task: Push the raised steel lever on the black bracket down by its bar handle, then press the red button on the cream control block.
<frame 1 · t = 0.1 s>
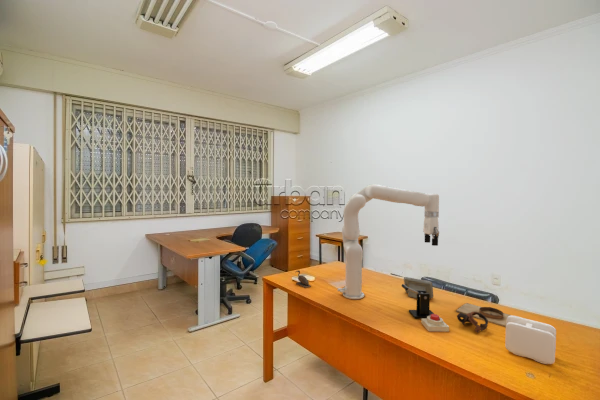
hand: (431, 243, 164), 31 cm above the table, tool pointing down, fingers open, 9 cm apart
control block: (434, 327, 128), on the table
board: (488, 316, 140), on the table
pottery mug: (471, 328, 127), on the table
lever: (414, 291, 139), point 12 cm above the table, hinge at 25.0°
figurine: (301, 284, 186), on the table
button: (434, 317, 128), point 4 cm above the table, slide at 0.1 cm
bracket: (422, 315, 140), on the table
digital clock: (418, 296, 166), on the table
cable organizer: (528, 353, 107), on the table
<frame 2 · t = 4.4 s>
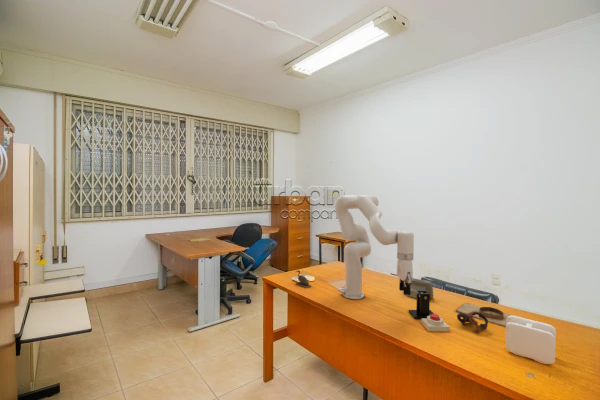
hand: (404, 292, 140), 12 cm above the table, tool pointing down, fingers closed on lever, 5 cm apart
lever: (414, 291, 139), point 12 cm above the table, hinge at 25.0°, touching gripper
everything else where it was.
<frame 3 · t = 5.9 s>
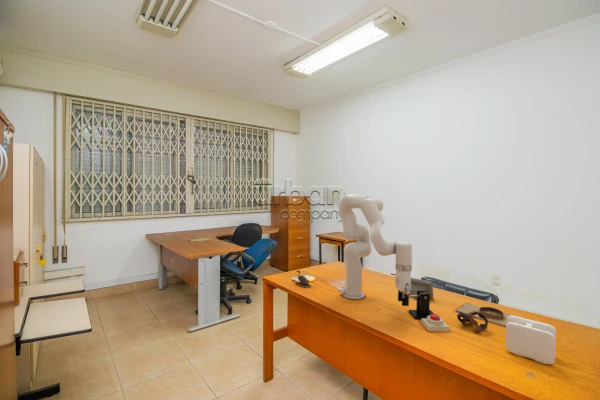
hand: (403, 302, 140), 6 cm above the table, tool pointing down, fingers closed on lever, 5 cm apart
lever: (413, 296, 140), point 10 cm above the table, hinge at -5.1°, touching gripper
everything else where it was.
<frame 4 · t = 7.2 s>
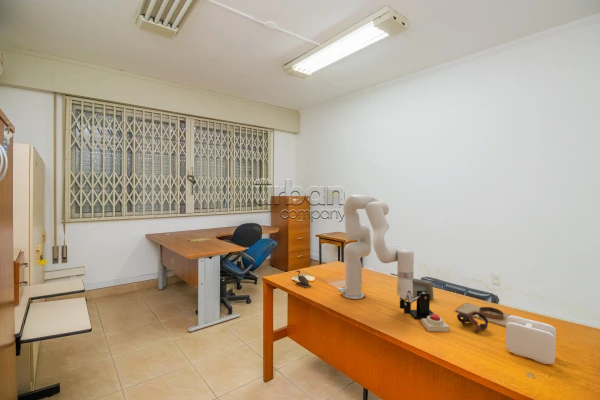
hand: (405, 310, 140), 2 cm above the table, tool pointing down, fingers closed on lever, 5 cm apart
lever: (414, 299, 140), point 8 cm above the table, hinge at -25.9°, touching gripper
everything else where it was.
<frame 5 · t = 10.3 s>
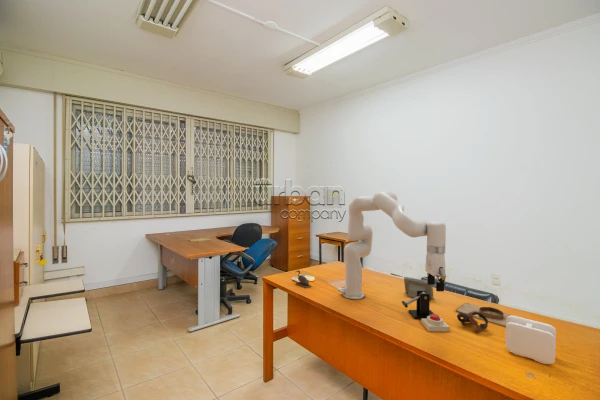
hand: (435, 287, 127), 18 cm above the table, tool pointing down, fingers open, 8 cm apart
lever: (414, 299, 140), point 8 cm above the table, hinge at -26.1°
everything else where it was.
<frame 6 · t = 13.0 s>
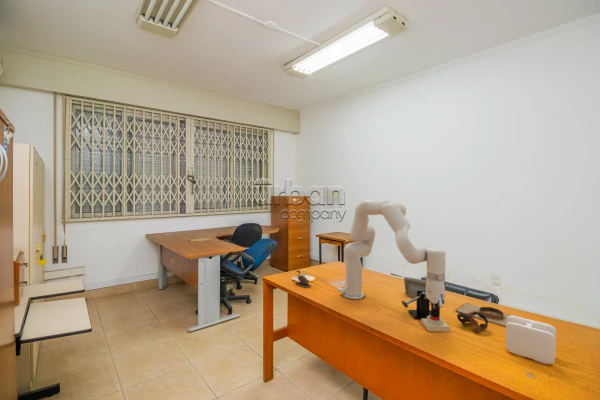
hand: (435, 316, 127), 5 cm above the table, tool pointing down, fingers closed
button: (434, 318, 128), point 4 cm above the table, slide at -0.2 cm, touching gripper
everything else where it was.
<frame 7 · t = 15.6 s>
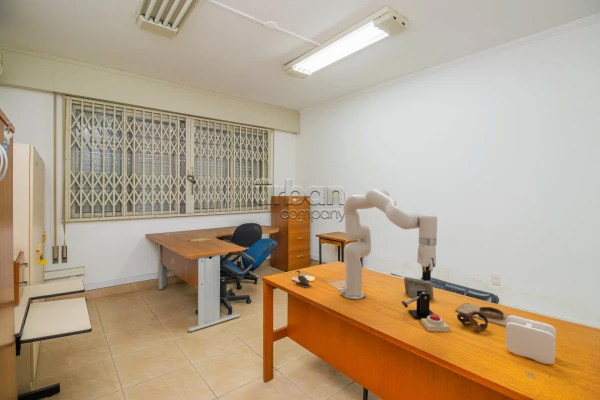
hand: (426, 280, 131), 20 cm above the table, tool pointing down, fingers closed
button: (434, 317, 128), point 4 cm above the table, slide at 0.1 cm
everything else where it was.
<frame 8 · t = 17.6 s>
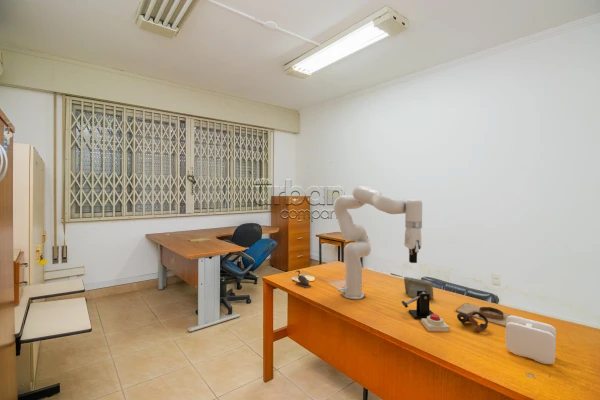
hand: (412, 262, 137), 27 cm above the table, tool pointing down, fingers closed
nothing on the table moved.
at the end: lever at -26° (first picture: +25°); button pushed in 1.1 cm at the most during the clip, back to where it started at the end; button slide at 0.1 cm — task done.
